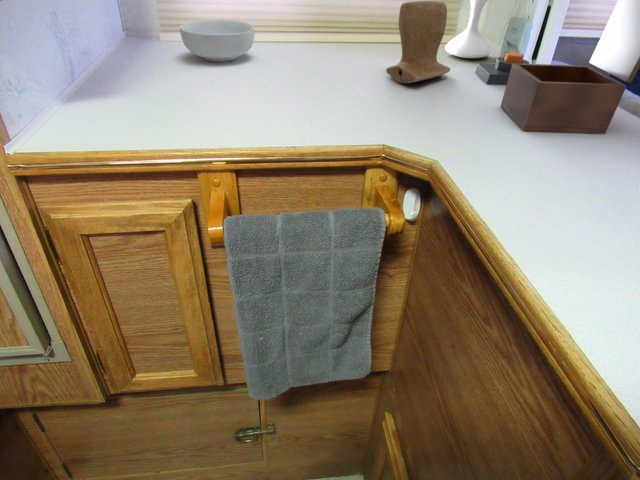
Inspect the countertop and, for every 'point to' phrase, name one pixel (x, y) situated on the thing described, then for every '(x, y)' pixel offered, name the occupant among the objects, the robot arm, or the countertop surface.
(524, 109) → the chest
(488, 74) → the button block
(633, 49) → the lid
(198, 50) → the cereal bowl
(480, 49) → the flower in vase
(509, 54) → the button
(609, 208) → the countertop surface
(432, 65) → the brown flared post
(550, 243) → the countertop surface
